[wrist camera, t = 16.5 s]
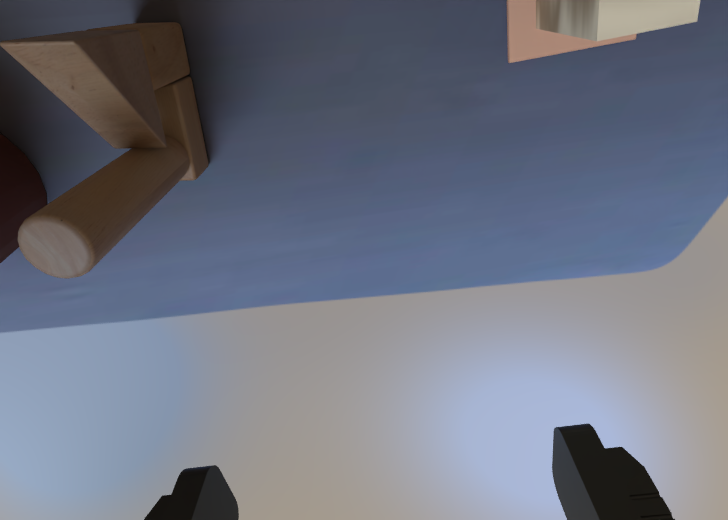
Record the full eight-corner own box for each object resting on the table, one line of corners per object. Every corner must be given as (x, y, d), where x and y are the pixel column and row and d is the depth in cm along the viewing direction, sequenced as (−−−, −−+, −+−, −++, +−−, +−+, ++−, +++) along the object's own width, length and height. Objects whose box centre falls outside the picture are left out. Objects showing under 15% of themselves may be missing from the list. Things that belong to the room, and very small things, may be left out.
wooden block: (182, 21, 33) (18, 47, 17) (210, 166, 38) (105, 283, 23) (131, 23, 33) (-77, 49, 17) (167, 166, 38) (32, 284, 23)
